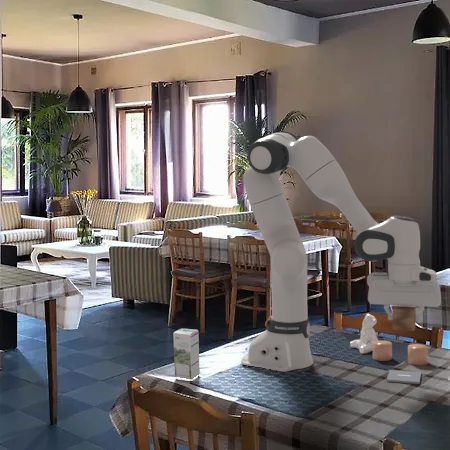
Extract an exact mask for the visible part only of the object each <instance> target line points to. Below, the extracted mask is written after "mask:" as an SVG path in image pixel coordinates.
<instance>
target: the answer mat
mask: <svg viewBox="0 0 450 450" xmlns="http://www.w3.org/2000/svg"><path fill="white" fill-rule="evenodd" d="M421 377H422V372H421V371H411V370H410V371H409V370H399V369H398V370H397V369H394V370H393V369H389V371H388V374H387V377H386V382H388V383H389V382H390V383H398V384H399V383H401V384H411V385H412V384H413V385H420V383H421Z"/></svg>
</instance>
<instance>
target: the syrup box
mask: <svg viewBox="0 0 450 450" xmlns="http://www.w3.org/2000/svg"><path fill="white" fill-rule="evenodd" d="M172 336H173V339H172V340H173V357H174V358H173V359H174V360H173V361H174V364H173V365H174V378H175V377H180V378H186V379H193V378H194V377H196V376H197V375H199V374H200V375H201V372H200V371H201V370H200V369H201V368H200V353H199V352H200V347H199V346H200V345H199V343H200V341H199V340H200V339H199V338H200V337H199V330H198V329H190V328H178V330H175V331H174V332H173V335H172Z"/></svg>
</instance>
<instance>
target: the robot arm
mask: <svg viewBox="0 0 450 450" xmlns="http://www.w3.org/2000/svg"><path fill="white" fill-rule="evenodd" d="M247 162H248V165H249V167H248V168H247V169H246V170H245V171H244V174H243V183H244V189H245V192H246V193H245V194H246V197H247V199H248V203H249V205H250V208H251V211H252V214H253V217H254V219H255V221H256V225H257V227H258V229H259V231H260V234H261V236H262V239H263V241H264V243H265V245H266V248H267V251H268V253H269V256H270V287H271V315H269V317H267V320H266V321H265V323H264V324H265V325H264V326H265V328H266V329H265V330H264V331H263V332H261V333H260V334H258V336H256V337H255V338H254V339H253V340H251V342H250V343H249V347H248V352H247V353H246V354H244V356H243V357H242V358H241V361H240V362H241V363H242V364H244V365H250V366H255V367H262V368H266V369H265V370H269V369H271V370H270V371H276V370H277V372H284V373H285V372H290V371H293V370H300V369H301V370H302V369H305V368H308V367H310V366H313V364H314V359H313V357H312V352H311V345H310V339H309V337H310V320H309V317H308V256H307V252H306V248H305V246H304V243H303V240H302V238H301V235H300V232H299V229H298V227H297V224H296V221H295V220H294V217H293V213H292V211H291V209H290V208H291V207H290V205H289V202H288V199H287V197H286V195H285V192H284V189H283V187H282V184H281V180H280V175H281V172H285V171H286V170H288V169H289V168H291V169H294V170H295V171H296V172H297V173H298V174H299V176H300V177H301V179H302V180H303V182H304V183H305V184H306V186H307V187H308V188H309V190H311V192H312V194H314V195H315V196H316V197H317V198H318V199H320V200H322V201H324V202H327V203H329V204H331V205H333V206H335V207H336V208H337V209H339V211H340V212H342V215H344V217H345V219H347V221H348V222H349V223H350V224H351V226H352V227H353V229H354V230H355V232H356V234H357V236H356V237H355V240H354V244H353V245H354V246H353V247H354V251H355V254H357V256H358V257H359V258H361V260H363V261H367V262H378V261H383V260H387V265H388V267H387V271H381V272H377V271H373V272H371V273H369V274H368V275H367V277H366V283H367V286H368V292H367V293H368V294H367V301H368V302H369V304H370V305H382V306H383V309H384V311H385V312H386V314H387V320H388V321H392V312H391V310H390V306H394V305H405V306H416V307H418V310H419V312H418V313H416V314H415V321H416V322H421V316H422V314H423V312H425V307H429V308H430V307H431V308H433V307H435V308H439V307H440V305H441V304H442V294H441V287H440V283H439V281H438V280H436V279H437V272H436V271H435V270H433V269H432V268H431V269H430V268H427V267H424V266H421V260H420V256H419V255H420V250H421V232H420V226H419V223H418V222H417V221H416V219H415V218H413V217H409V216H405V215H391V216H390V217H388V219H386V220H384V221H383V222H379V221H378V220H376V219H375V218H374V217H373V216H372V215H371V213H370V212H369V211H368V209H367V208H366V207H365V206H364V203H362V201H361V200H360V199H359V198H358V197H357V195H356V193H355V192H354V189H353V188H352V186H351V184H350V182H349V179H348V177H347V176H346V174H345V172H344V170H343V169H342V167H341V165H340V163H339V162H338V161H337V159H336V158H335V156H333V154H332V152H330V150H329V149H328V148H327V147H326V146H325V145H324V144H323V143H322V142H321V141H320V140H319V139H318V138H317V137H315V136H314V135H305V136H302V137H300V138H299V137H298V136H297V134H295V133H293V132H290V131H279V132H274V133H270V134H268V135H266V136H264V137H262V138H258V139H257V140H256V141H254V142H253V143H252V144H251V145H250V147H249V149H248V152H247ZM242 364H241V365H242ZM255 367H254V368H255ZM262 368H261V369H262Z"/></svg>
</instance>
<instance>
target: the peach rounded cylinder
mask: <svg viewBox="0 0 450 450" xmlns="http://www.w3.org/2000/svg"><path fill="white" fill-rule="evenodd" d="M407 363H408V364H410V365H413V366H425V365H426V366H427V365H428V363H429V347H428V346H427V345H425V344H421V343H414V344H413V343H412V344H409V345H407Z"/></svg>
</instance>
